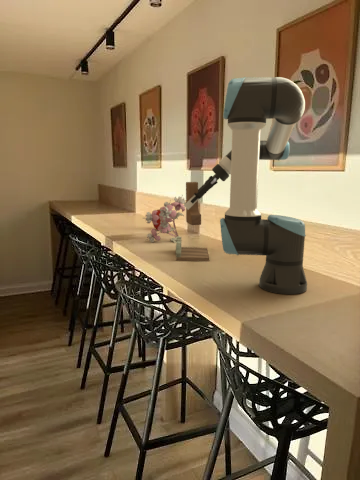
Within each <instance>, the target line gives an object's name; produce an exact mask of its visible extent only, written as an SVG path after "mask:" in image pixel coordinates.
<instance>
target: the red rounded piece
mask: <svg viewBox="0 0 360 480" xmlns="http://www.w3.org/2000/svg"><path fill="white" fill-rule="evenodd" d="M157 211H158V212H157V213H156V215H157V216H159V217H160V215H159V214H160V208H159V209H157ZM160 222H161V220H160V218H159V219H158V220H157V222H156V223H158V224H157V225H154V224H153V222H152V221H151V223H152V225H153V229H155V230H156V231H159V230H158V227H159V225H160V224H161V223H160ZM162 222H163V221H162Z"/></svg>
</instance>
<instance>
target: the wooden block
mask: <svg viewBox="0 0 360 480" xmlns="http://www.w3.org/2000/svg"><path fill="white" fill-rule="evenodd" d="M198 189H199V183H198V182H197V181H186V182H185V202H186V203H187V202H188V201H189V200H190V199H191V198H192V197H193V196H194V193H197V192H198ZM185 218H186V220H185V223H187V224H189V225H191V226H200V225H202V214H201V213H200V209H199V200H198V201H197V202H196V203H195V204H194V205H193V206H192V207H191V208H190V209H189V210H188V209H187V208H186V207H185Z"/></svg>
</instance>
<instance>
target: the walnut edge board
mask: <svg viewBox="0 0 360 480" xmlns="http://www.w3.org/2000/svg"><path fill="white" fill-rule="evenodd" d="M175 242H176V243H175V261H179V262H210V254H209V250H208V247H195V246H192V247H190V246H188V247H187V246H182V236H180V237H177V240H176V241H175Z"/></svg>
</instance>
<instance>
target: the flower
mask: <svg viewBox="0 0 360 480" xmlns="http://www.w3.org/2000/svg"><path fill="white" fill-rule="evenodd" d="M173 199H174V200H173V201H174V202H171V199H170V200H169V201H165V202H164V203H163V206H161V207H160V208H159V209H160V214H159V215H160V217H159V216H157V215H156V213H157V212H158V211H157V210H158V209H157V210H156V209H154V210H153V211H152V212H150V211H146V214H145V217H142V219H144V220H145V222H146V223H147V224H150V223H152V222H153V223H152V225H153V224H154V225H157V224H158V223H156V222H157V220H158V219H159V218H160V220H161V222H160V223H161V224H160V225H159V227H158V230H157V229H155V228H151V229H150V233H149V232H148V233H147V234H146V241H147V240H148V241H149V242H150V243H154V242H155V241H158V242H159V241H161V236H160V235H158V234H166V235H170V236H171V238H170V239H169V241H171V242H174V244H176V242H177V237H181V236H180V235H179V234H178V231H177V228H176V221H175V220H179V219H178V218H179V217H180V216H181V217H182V216H183V217H185V214H184V213H183V212H186V207H185V206H184V203H185V202H186V199H185V197H183V194H181V196H178V197H177V196H175V197H173ZM173 209H174V210H173ZM180 210H181V212H180ZM177 211H178V212H177ZM162 221H163V222H162ZM170 223H172V224H173V226H171V224H170ZM154 225H153V226H154ZM158 231H159V232H158ZM171 232H172V233H171ZM173 233H174V234H173Z"/></svg>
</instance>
